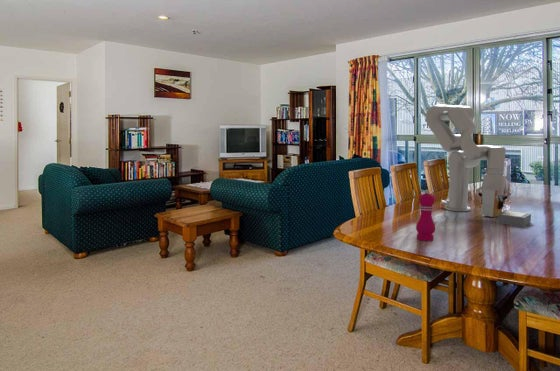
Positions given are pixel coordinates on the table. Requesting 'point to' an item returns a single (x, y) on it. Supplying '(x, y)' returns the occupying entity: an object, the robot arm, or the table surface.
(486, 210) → the small box
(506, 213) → the plinth
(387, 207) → the table surface
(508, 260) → the table surface
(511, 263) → the table surface
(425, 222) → the pepper mill
